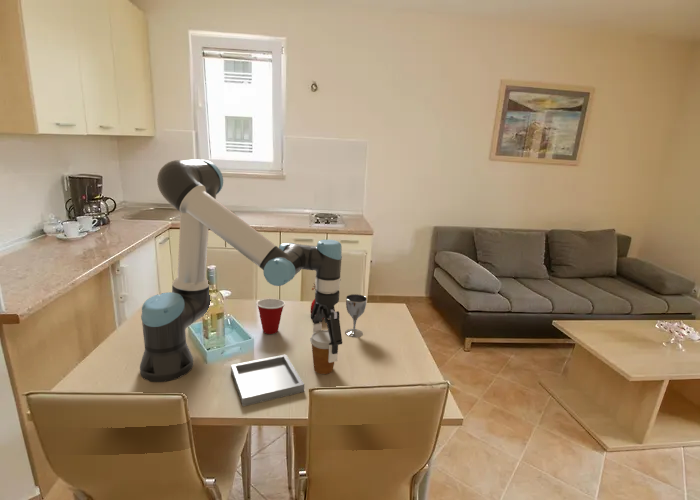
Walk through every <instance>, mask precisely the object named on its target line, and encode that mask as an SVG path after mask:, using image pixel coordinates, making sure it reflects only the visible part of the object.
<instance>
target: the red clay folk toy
mask: <svg viewBox="0 0 700 500" xmlns="http://www.w3.org/2000/svg"><path fill="white" fill-rule="evenodd" d="M311 290H312V291H314V290H316V288H315V283H313V285H312V288H311ZM314 304H315V298H314V299H313V300H312V302H311V305H310V315H311V314H312V310H313V307H314ZM322 320H324V317H323V319H322Z"/></svg>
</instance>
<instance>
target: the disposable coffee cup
mask: <svg viewBox="0 0 700 500" xmlns="http://www.w3.org/2000/svg"><path fill="white" fill-rule="evenodd" d="M309 341H310V344H311V352H312V363H313V370H314V372H316V373H317V374H319V375H329V374H331V373H332V372H333V371H334V366H335V362H331V363H329V362H328V358H329V343H331V341H330V336H329V332H328V329H321V330H319V331H316V332H314V333H313V332H312V334H311V337H310V340H309Z"/></svg>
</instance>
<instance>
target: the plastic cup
mask: <svg viewBox="0 0 700 500" xmlns="http://www.w3.org/2000/svg"><path fill="white" fill-rule="evenodd" d="M256 305H257V309H258V312H259V318H260V323H261V327H262V329H261V330H262V331H263V333H264V334H267V335H273V334H274V335H275V334H276V333H278V332H279V327H280V323H281V318H282V313H283V310H284V306H285V305H286V302H285V301H284V300H282V299H279V298H264V299H260V300H257V301H256Z"/></svg>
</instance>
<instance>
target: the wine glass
mask: <svg viewBox="0 0 700 500" xmlns="http://www.w3.org/2000/svg"><path fill="white" fill-rule="evenodd" d="M345 298H346V299H345V306H346V307H345V308H346V312H347V313H348V315H349V316H350V317H351V318H352V323H353V327H352V328H350V329H346V330H345V331H344V332H345V335H346V336H347V337H350V338H360V337H362V336H363V335H364V332H363V331H362V330H360V329H357V328H356V325H357V321H358V319H359V318H360V317H362V315H363V314H364V313H365V310H366V308H367V302H368V299H367V297H366V296H365V295H362V294H360V293H359V294H358V293H352V294H348V295H347V296H346V297H345Z"/></svg>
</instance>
